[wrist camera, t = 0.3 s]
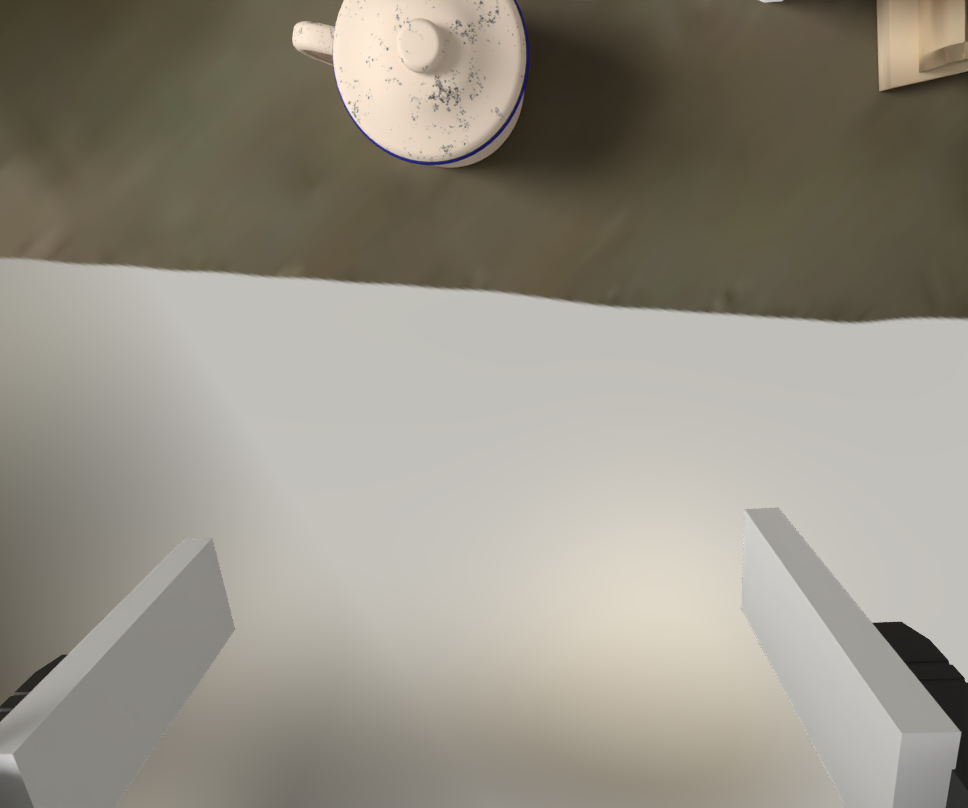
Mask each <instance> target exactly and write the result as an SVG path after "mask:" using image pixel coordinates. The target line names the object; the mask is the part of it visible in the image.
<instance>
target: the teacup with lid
mask: <svg viewBox="0 0 968 808" xmlns="http://www.w3.org/2000/svg"><path fill="white" fill-rule="evenodd" d="M292 40H293V45H294V46H295V48H296V49H297V50H298V51H300V52H301V53H303V54H305V55H307V56H309V57H311V58H314V59H316V60H319V61H321V62H324V63H327V64H330V65H333V69H334V75H335V80H336V84H337V88H338V91H339V94H340V97H341V100H342V102H343V104H344V106H345V108H346V110H347V112H348V114H349V115H350V117H351V119H352V120H353V122H354V123H355V124H356V126H357V127H358V128H359V129H360V131H361V132H362V133H363V134H364V135H365V136H366V137H367V138H368V139H369V140H370V141H371V142H372V143H374V144H375V145H376V146H377V147H379V148H380V149H382V150H383V151H385V152H386V153H388V154H390V155H392V156H394V157H396V158H399V159H401V160H404V161H407V162H411V163H415V164H421V165H434V166H439V167H448V168H452V167H463V166H467V165H471V164H474V163H476V162H478V161H481V160H483V159H484V158H486V157H488V156H489V155H491V154H492V153H493V152H495V151H496V150H497V149H498V148H499V147H500V146H501V145H502V144H503V143H504V142H505V140H506V139H507V138H508V136H509V135H510V133H511V132H512V130H513V129H514V127H515V125H516V122H517V120H518V118H519V115H520V112H521V108H522V104H523V98H524V89H525V86H526V81H527V76H528V68H529V45H528V37H527V31H526V27H525V23H524V19H523V16H522V14H521V11H520V8H519V6H518V4H517V2H516V0H344V2H343V4H342V6H341V9H340V11H339V14H338V18H337V21H336V25H335V27H334V26H330V25H326V24H321V23H316V22H309V21H302V22H298V23H297V24H296V25H295V26H294V30H293V38H292Z"/></svg>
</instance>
